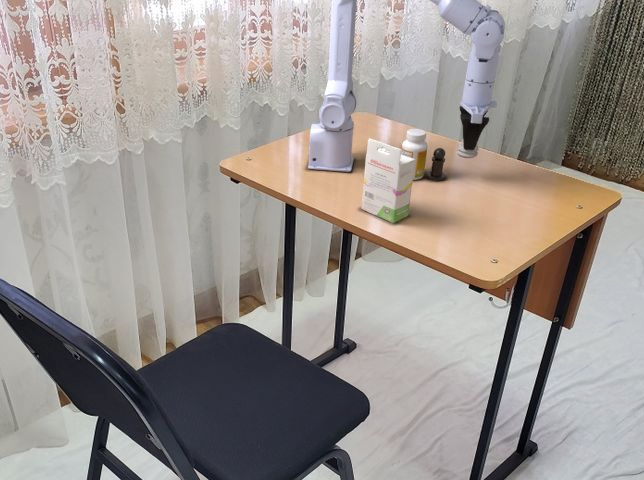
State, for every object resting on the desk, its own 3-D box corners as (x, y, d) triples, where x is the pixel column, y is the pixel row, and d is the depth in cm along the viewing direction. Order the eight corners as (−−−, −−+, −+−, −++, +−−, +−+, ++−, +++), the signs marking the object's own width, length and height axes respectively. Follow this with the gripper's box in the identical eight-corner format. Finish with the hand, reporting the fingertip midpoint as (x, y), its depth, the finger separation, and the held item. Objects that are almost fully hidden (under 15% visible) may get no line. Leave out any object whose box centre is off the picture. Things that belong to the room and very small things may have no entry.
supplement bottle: (422, 170, 161) (428, 127, 155) (424, 181, 157) (430, 137, 151) (397, 170, 162) (402, 126, 156) (399, 180, 158) (404, 136, 152)
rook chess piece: (478, 152, 155) (485, 114, 151) (476, 160, 152) (483, 122, 147) (457, 149, 157) (463, 112, 152) (454, 157, 153) (461, 119, 148)
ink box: (409, 216, 144) (419, 143, 135) (393, 224, 141) (402, 150, 132) (376, 201, 149) (383, 130, 140) (359, 209, 146) (366, 137, 138)
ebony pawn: (426, 180, 157) (430, 151, 153) (426, 172, 160) (430, 144, 157) (445, 181, 157) (450, 152, 153) (445, 174, 160) (449, 145, 156)
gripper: (503, 91, 139) (490, 160, 147) (498, 69, 150) (486, 134, 158) (465, 89, 140) (454, 157, 148) (463, 67, 151) (452, 132, 159)
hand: (468, 145), depth 153 cm, fingers closed on rook chess piece, 3 cm apart
